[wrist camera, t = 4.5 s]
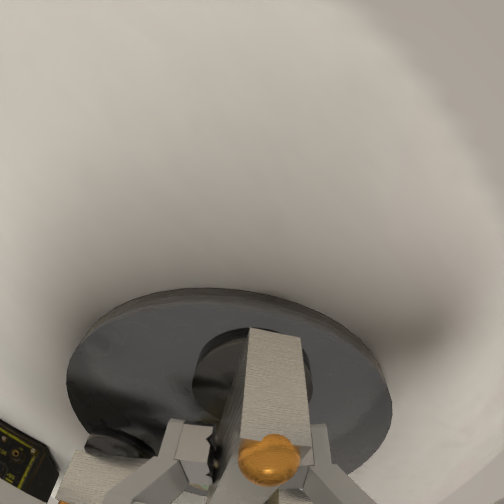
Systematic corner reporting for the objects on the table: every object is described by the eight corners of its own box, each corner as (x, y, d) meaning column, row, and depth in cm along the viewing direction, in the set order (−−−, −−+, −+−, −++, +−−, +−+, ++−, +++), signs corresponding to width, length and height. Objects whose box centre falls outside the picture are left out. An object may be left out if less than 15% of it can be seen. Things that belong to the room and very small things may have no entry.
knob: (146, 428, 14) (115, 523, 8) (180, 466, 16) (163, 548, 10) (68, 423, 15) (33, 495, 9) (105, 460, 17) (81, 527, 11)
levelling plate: (381, 462, 18) (391, 507, 14) (161, 483, 21) (152, 522, 17) (376, 240, 11) (422, 298, 7) (26, 319, 14) (-15, 365, 10)
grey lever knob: (284, 421, 13) (286, 538, 8) (189, 404, 13) (161, 521, 7) (335, 321, 11) (375, 473, 5) (211, 293, 10) (165, 451, 5)
